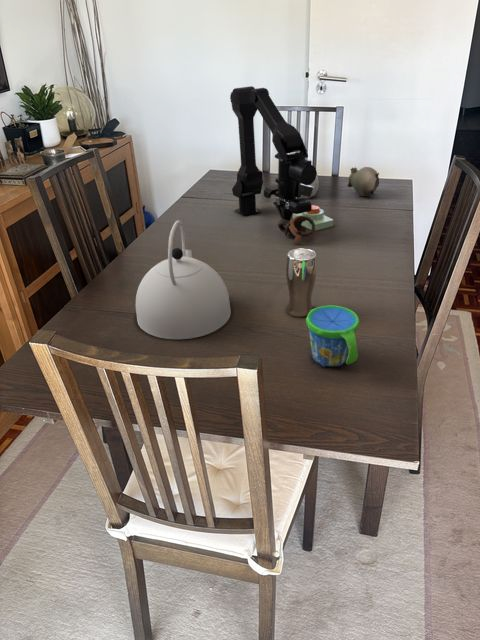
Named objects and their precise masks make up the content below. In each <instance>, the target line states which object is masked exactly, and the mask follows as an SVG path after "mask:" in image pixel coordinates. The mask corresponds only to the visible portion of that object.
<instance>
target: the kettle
mask: <svg viewBox="0 0 480 640" xmlns="http://www.w3.org/2000/svg"><path fill="white" fill-rule="evenodd" d="M178 226H179V230H180V236H181V248H179V247H174V248H173V243H174V236H175V232H176V230H177V227H178ZM186 246H187V245H186V234H185V227H184V224H183V222H182V221H181V220H180V219H178V220H175V222H174V223H173V225H172V227H171V229H170V232H169V237H168V245H167V259H164V260H161V261H160V262H158V263H156V264H155V265H154V266H153V267H151V268H150V269H149V270H148V271H147V273H146V274H144V276H143V278H142V279H141V282H140V283H139V285H138V288H137V291H136V295H135V314H136V321H137V324H138V326H139V328H140V329H141V330H142V331H143V332H145V333H147V334H148V335H150V336H153V337H156V338H160V339H166V340H189V339H190V340H191V339H195V338H196V339H197V338H199V337H204V336H206V335H210V334H212V333H214V332H216V331H217V330H219V329H220V328H222V327H223V326H224V325H226V323H227V322H228V321H229V319H230V317H231V314H232V312H231V311H232V310H231V304H230V296H229V292H228V291H229V290H228V287H227V286H226V284H225V282H224V280H223V278H222V277H221V276H220V274H219V273H218V272H217V271H216V270H215V269H214V268H212V267H211V266H210V265H208V264H207V263H205V262H203V261H201V260H199V259H196V258H194V257H193V252H192V250H193V249H186Z"/></svg>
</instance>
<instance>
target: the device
mask: <svg viewBox="0 0 480 640" xmlns="http://www.w3.org/2000/svg"><path fill="white" fill-rule="evenodd" d="M304 159H307V158H304ZM319 183H320V181H319V177H318V174H317V175H316V179H315V180H314V182H313V183H312V184H310V186H312V187H313V191H312V194H311V197H308V196H304V195H301V197H298V199H302V198H304V199H306V200H308V199H310V198H312V197H314V196H315V195H316V194H317V192H318V190H319V187H320V186H319V185H320V184H319Z"/></svg>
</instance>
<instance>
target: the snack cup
mask: <svg viewBox="0 0 480 640" xmlns="http://www.w3.org/2000/svg"><path fill="white" fill-rule="evenodd" d="M360 323H361V322H360V319H359V316H358V315H357V313H356V312H355V311H353V310H351V309H350V308H347V307H344V306H341V305H332V304H330V305H329V304H327V305H321V306H318V307H315V308H312V310H311V311H310V312H309V314H308V316H306V318H305V324H306V328H307V329H308V335H309V342H310V350H311V357H312V359H313V361H314V362H316V363H317V364H318V365H320V366H322V367H323V368H325V367H329V368H336V367H341V366H342V365H344V364H346V365H351V364H354V363H355V362H356V361H357V360H358V358H359V353H358V345H357V344H358V343H357V337H356V332H357V330H358V328H359V326H360Z"/></svg>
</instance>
